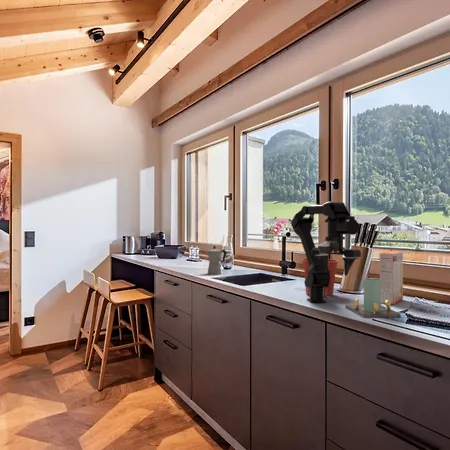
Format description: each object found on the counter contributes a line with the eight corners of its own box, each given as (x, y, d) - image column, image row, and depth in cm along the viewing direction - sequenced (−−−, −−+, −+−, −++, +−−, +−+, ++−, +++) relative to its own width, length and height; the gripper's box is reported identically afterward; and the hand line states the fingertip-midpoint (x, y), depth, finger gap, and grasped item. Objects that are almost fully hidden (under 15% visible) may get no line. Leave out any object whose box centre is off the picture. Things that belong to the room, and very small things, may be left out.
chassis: (345, 307, 144) (345, 295, 144) (378, 307, 145) (378, 295, 145) (363, 317, 129) (363, 304, 129) (400, 316, 130) (400, 303, 130)
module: (363, 309, 136) (363, 278, 136) (370, 307, 139) (371, 277, 139) (373, 311, 133) (374, 279, 133) (381, 309, 136) (381, 278, 136)
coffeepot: (208, 275, 233) (208, 246, 233) (202, 273, 242) (202, 245, 241) (229, 273, 240) (229, 246, 240) (222, 272, 249) (223, 245, 249)
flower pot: (337, 292, 177) (338, 258, 177) (338, 299, 161) (339, 262, 161) (302, 290, 181) (302, 257, 181) (300, 296, 165) (300, 260, 165)
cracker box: (388, 298, 164) (389, 250, 164) (403, 299, 160) (403, 251, 160) (378, 303, 153) (378, 252, 153) (393, 305, 149) (394, 253, 149)
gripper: (303, 233, 146) (302, 273, 146) (344, 235, 131) (344, 278, 131) (320, 233, 153) (320, 271, 153) (361, 234, 138) (361, 276, 138)
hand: (335, 274), depth 144 cm, fingers open, 9 cm apart
